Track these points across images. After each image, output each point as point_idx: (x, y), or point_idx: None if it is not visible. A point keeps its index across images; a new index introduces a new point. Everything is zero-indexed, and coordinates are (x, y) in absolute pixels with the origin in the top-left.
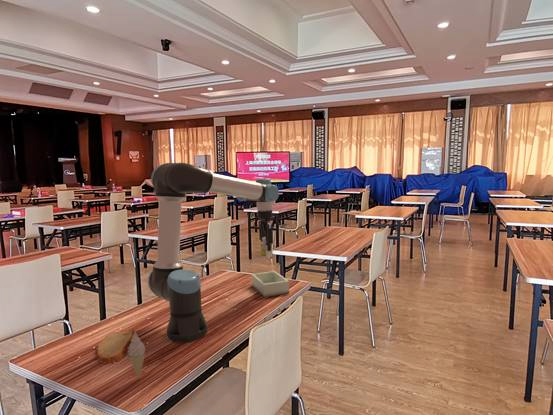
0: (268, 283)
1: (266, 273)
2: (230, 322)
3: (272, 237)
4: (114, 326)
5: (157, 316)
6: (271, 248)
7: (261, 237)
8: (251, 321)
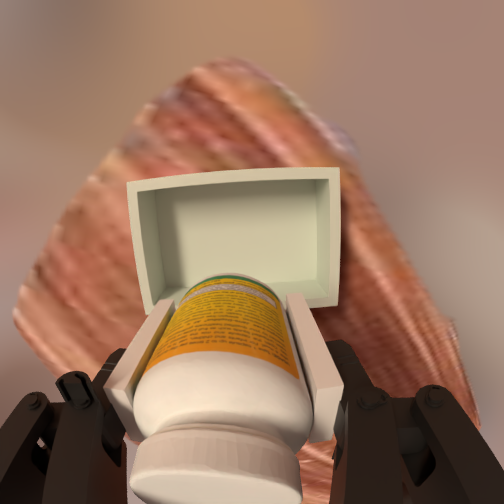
0: (329, 281)
1: (143, 234)
2: (419, 386)
3: (488, 455)
4: (307, 500)
5: (303, 479)
6: (268, 321)
7: (118, 492)
8: (443, 347)
